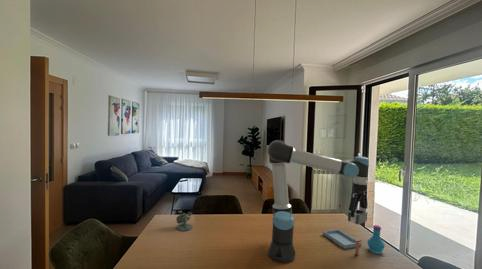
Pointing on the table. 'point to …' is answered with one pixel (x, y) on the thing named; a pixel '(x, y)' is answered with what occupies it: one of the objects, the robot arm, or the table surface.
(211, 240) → the table surface
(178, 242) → the table surface
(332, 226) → the table surface
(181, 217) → the figurine
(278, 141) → the robot arm
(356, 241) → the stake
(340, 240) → the tray
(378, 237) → the perfume bottle
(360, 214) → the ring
